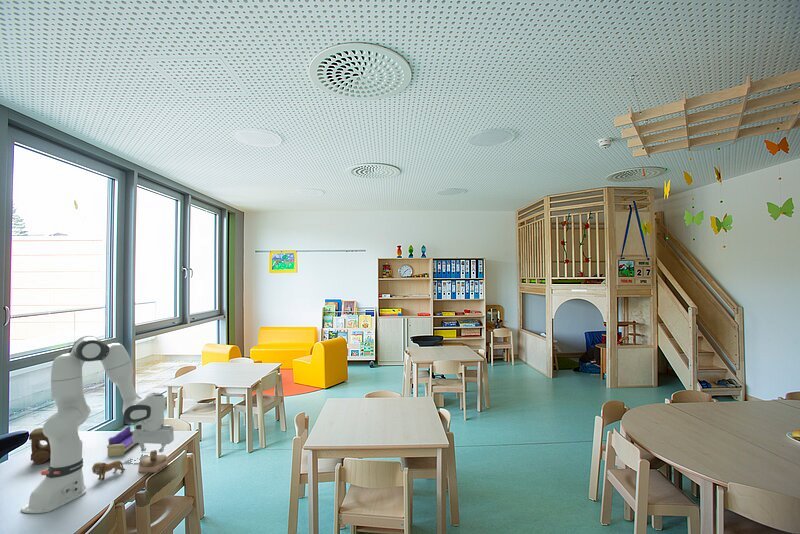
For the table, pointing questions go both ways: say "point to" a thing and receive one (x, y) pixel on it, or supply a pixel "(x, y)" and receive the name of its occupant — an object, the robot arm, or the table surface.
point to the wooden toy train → (39, 446)
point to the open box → (152, 468)
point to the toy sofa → (120, 442)
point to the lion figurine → (106, 468)
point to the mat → (135, 460)
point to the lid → (153, 459)
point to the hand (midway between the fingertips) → (152, 451)
